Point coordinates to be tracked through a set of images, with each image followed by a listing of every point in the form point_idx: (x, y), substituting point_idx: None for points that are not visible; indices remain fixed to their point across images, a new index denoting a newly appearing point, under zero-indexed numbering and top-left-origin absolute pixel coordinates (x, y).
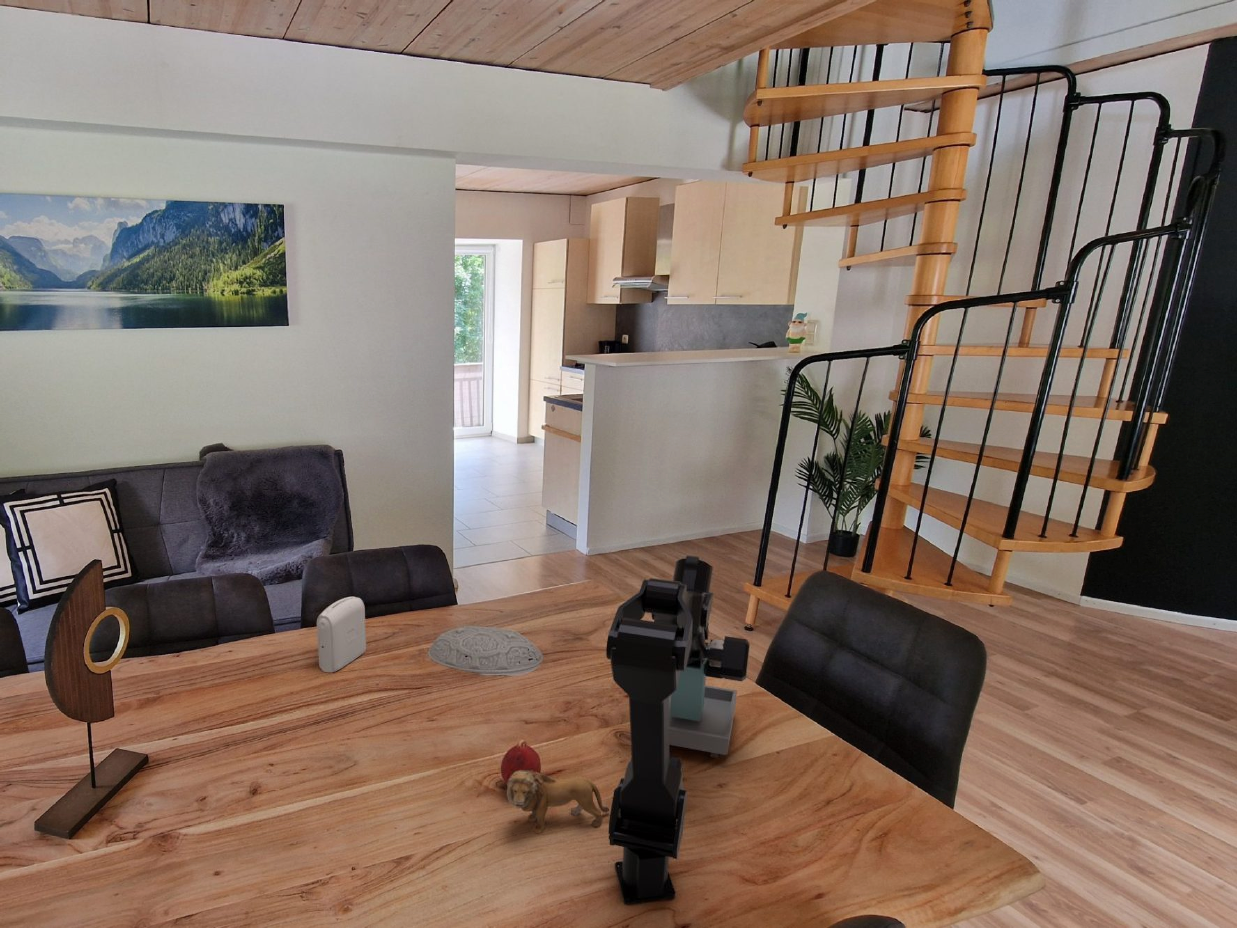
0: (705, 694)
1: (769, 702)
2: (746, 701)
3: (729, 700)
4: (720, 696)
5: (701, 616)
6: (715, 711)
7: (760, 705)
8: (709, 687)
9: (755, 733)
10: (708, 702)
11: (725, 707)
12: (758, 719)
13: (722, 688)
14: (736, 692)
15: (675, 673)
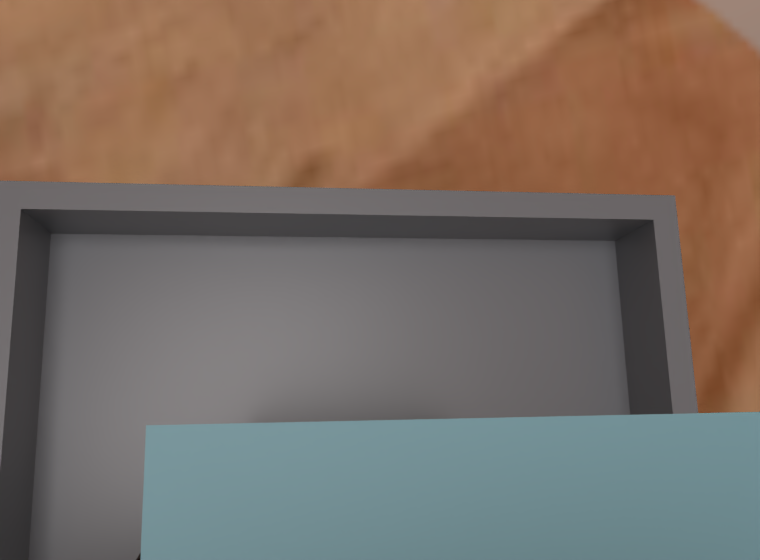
0: (442, 233)
1: (732, 54)
2: (619, 75)
3: (598, 238)
4: (546, 233)
5: None
6: (532, 395)
7: (694, 95)
8: (481, 214)
9: (717, 380)
10: (468, 295)
11: (586, 325)
12: (708, 236)
13: (573, 199)
14: (676, 225)
15: None
